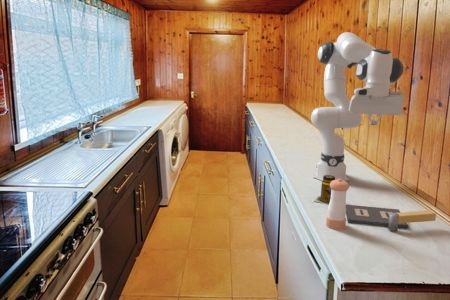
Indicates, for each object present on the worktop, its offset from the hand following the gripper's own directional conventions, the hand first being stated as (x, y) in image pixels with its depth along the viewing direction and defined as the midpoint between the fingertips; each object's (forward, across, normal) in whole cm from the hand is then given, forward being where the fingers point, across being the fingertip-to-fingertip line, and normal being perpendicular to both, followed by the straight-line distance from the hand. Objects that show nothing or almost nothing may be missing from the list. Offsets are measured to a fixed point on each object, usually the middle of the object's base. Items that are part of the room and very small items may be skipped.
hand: (373, 125), depth 153 cm
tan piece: (+37, -15, +16) cm, 43 cm away
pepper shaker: (+37, +13, +20) cm, 44 cm away
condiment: (+37, +16, -6) cm, 41 cm away
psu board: (+37, -3, +8) cm, 38 cm away
